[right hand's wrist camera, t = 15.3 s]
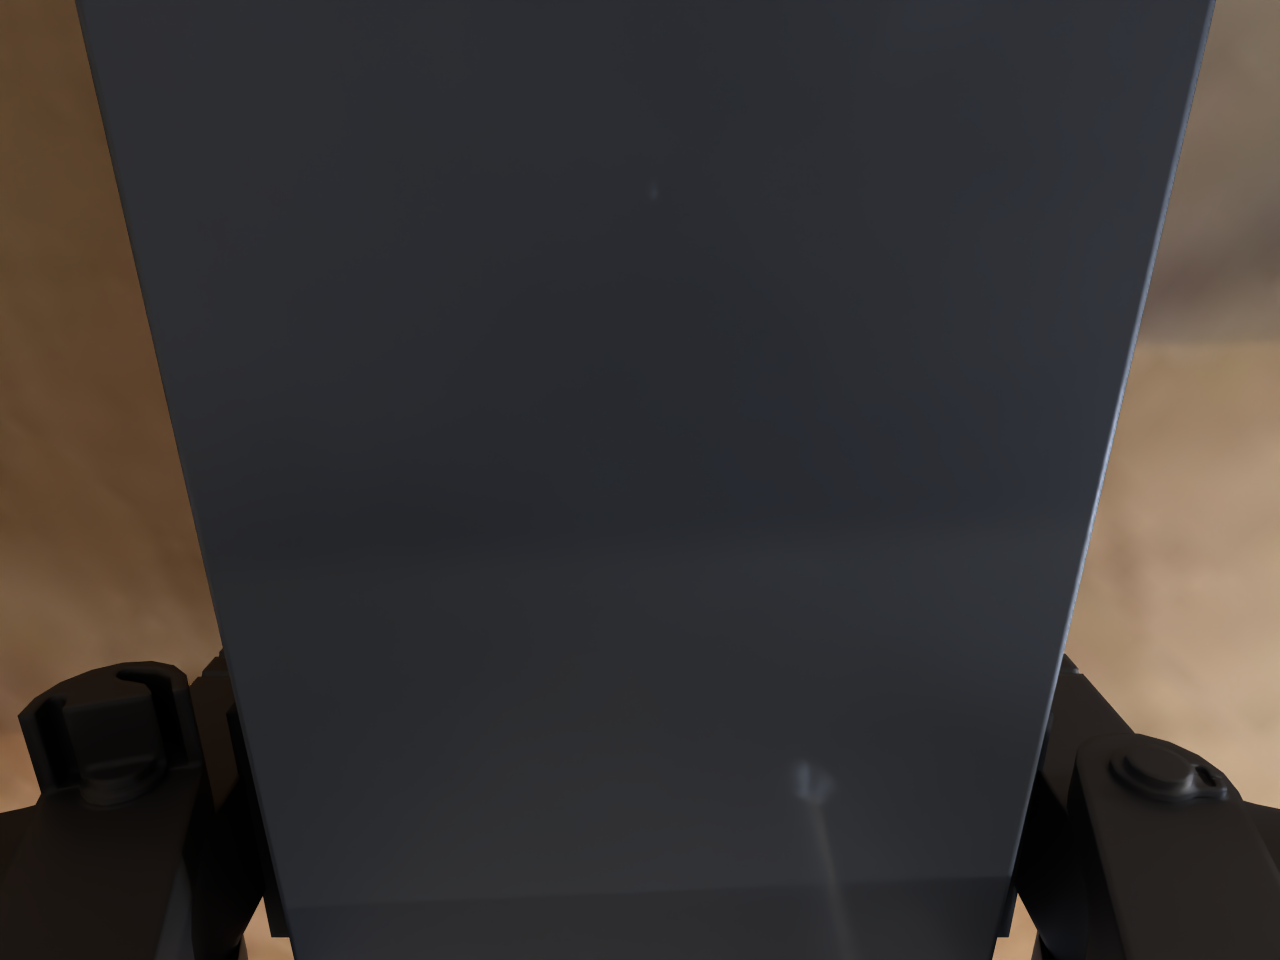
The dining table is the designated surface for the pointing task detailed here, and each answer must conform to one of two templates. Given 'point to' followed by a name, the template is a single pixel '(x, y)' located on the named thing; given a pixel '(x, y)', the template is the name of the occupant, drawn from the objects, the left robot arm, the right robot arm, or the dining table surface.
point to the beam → (644, 441)
